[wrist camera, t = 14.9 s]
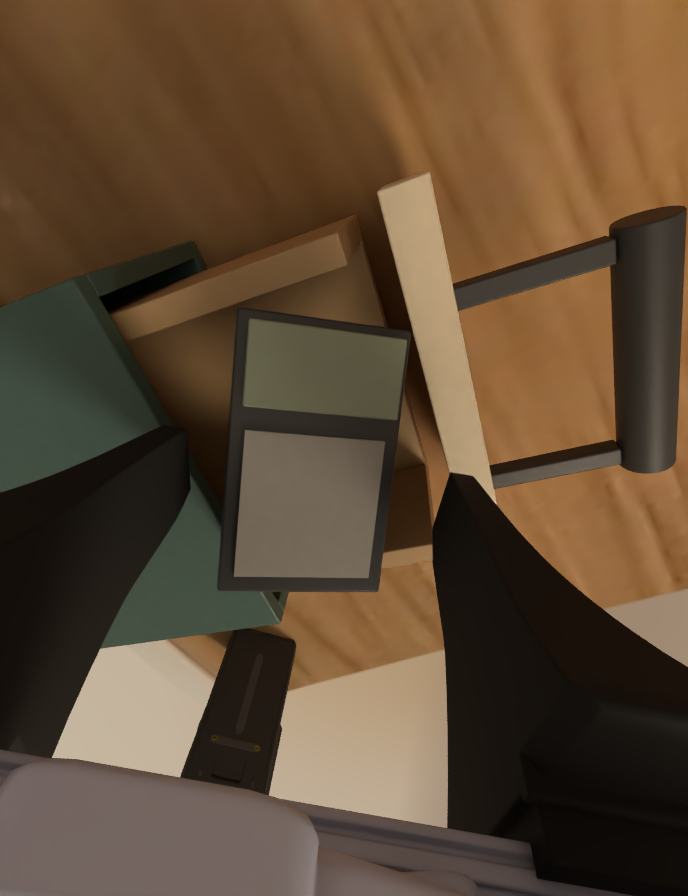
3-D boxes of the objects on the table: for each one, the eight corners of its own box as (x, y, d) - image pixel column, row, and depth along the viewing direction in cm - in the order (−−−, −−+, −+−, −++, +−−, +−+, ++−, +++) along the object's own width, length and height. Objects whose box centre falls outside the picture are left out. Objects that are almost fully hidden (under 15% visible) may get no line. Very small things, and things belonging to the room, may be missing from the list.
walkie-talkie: (226, 652, 32) (30, 1207, 15) (232, 625, 30) (17, 1218, 13) (290, 669, 32) (172, 1231, 15) (300, 642, 30) (179, 1246, 13)
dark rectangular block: (224, 543, 15) (214, 604, 11) (240, 322, 14) (236, 302, 10) (352, 547, 16) (385, 604, 12) (376, 340, 15) (421, 328, 11)
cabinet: (194, 239, 17) (71, 278, 11) (312, 499, 23) (281, 624, 17) (-66, 342, 21) (-278, 418, 14) (97, 544, 27) (2, 662, 20)
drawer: (591, 106, 13) (715, 62, 8) (606, 437, 19) (685, 534, 14) (96, 296, 18) (-25, 344, 13) (226, 517, 24) (179, 612, 18)
